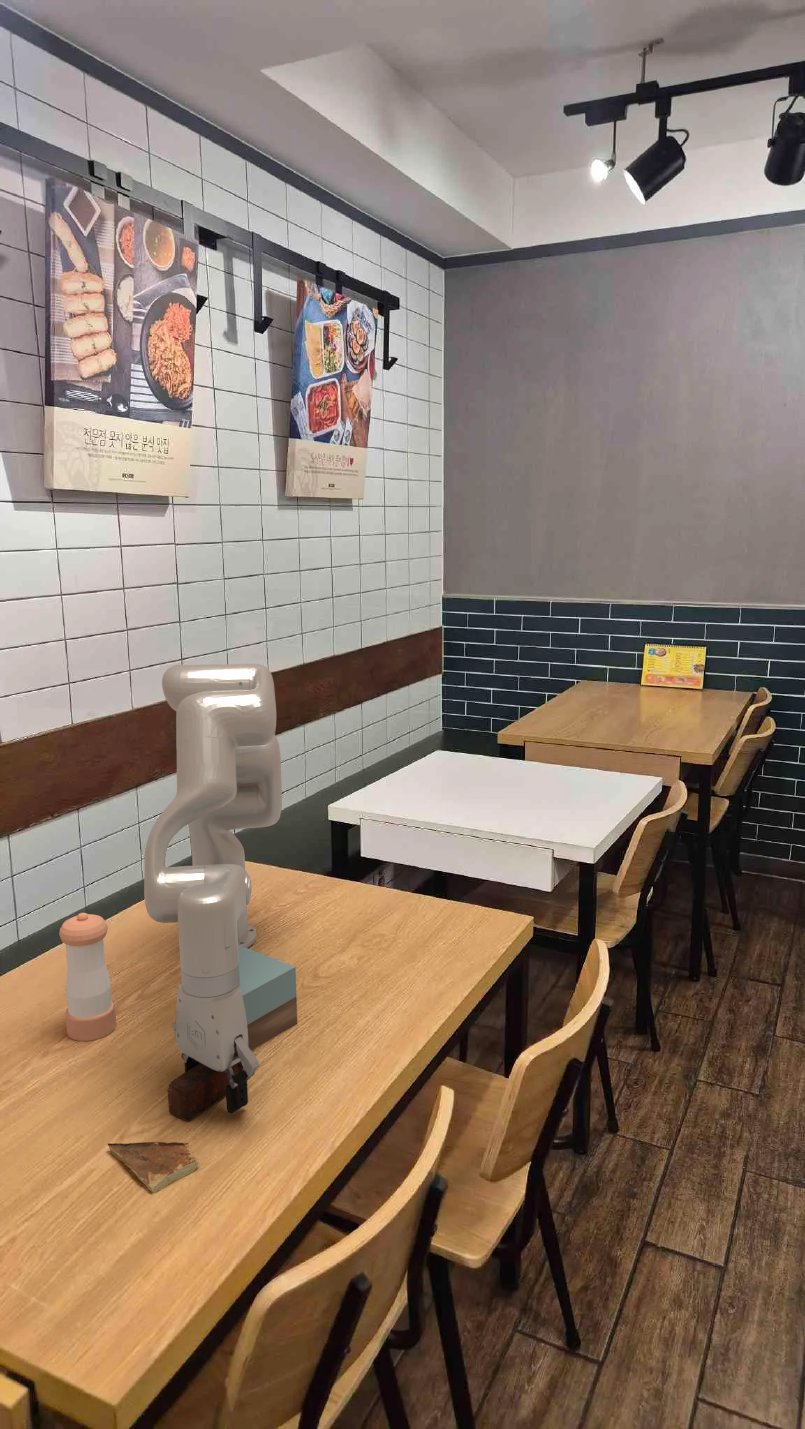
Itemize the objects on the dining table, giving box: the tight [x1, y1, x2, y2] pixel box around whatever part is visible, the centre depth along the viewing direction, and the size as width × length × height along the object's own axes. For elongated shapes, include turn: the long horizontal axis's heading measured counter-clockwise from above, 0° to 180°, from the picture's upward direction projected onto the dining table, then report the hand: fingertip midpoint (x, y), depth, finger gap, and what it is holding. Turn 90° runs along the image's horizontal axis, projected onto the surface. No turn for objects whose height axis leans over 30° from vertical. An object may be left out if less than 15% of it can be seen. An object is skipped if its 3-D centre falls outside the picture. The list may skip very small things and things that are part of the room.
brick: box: [167, 1056, 240, 1122], centre depth 127 cm, size 11×4×5 cm, turn 147°
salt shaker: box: [58, 912, 117, 1042], centre depth 143 cm, size 7×7×19 cm
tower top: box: [238, 946, 297, 1025], centre depth 143 cm, size 12×12×5 cm
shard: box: [107, 1141, 200, 1194], centre depth 115 cm, size 11×8×2 cm
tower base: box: [247, 996, 298, 1051], centre depth 145 cm, size 12×12×5 cm
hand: (216, 1095), depth 126 cm, fingers open, 7 cm apart
